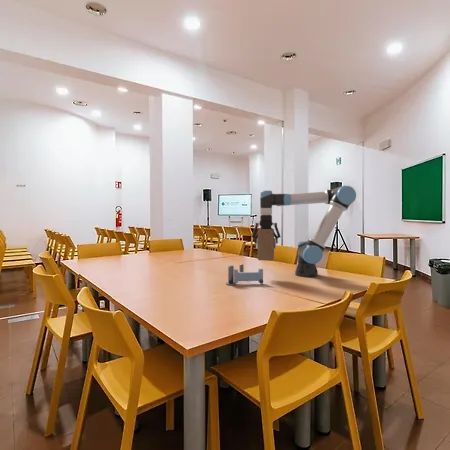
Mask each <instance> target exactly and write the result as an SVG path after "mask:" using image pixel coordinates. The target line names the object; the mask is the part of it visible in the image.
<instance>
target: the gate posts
mask: <svg viewBox="0 0 450 450" xmlns="http://www.w3.org/2000/svg"><path fill="white" fill-rule="evenodd" d="M234 267H235V266H234V265H228V267H227V268H228V271H227V272H228V273H227V274H228V278H227V279H228V282H226V283H225V285H226V286H237V283H234V269H235V268H234ZM244 268H245V267H244V264H243V263H242V264H241V263H240V264H239V272H245V271H244Z"/></svg>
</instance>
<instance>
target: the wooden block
mask: <svg viewBox="0 0 450 450" xmlns="http://www.w3.org/2000/svg"><path fill="white" fill-rule="evenodd" d="M274 232H275V228H273V227H272V229H260V228H257V233H258V237H257V239H258V249H257V260H258V261H266V262H267V261H269V262H270V261H274V258H275V249H274V238H275V237H274Z"/></svg>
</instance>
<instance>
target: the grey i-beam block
mask: <svg viewBox="0 0 450 450" xmlns="http://www.w3.org/2000/svg"><path fill="white" fill-rule="evenodd" d="M239 282H258V283H259V284H263V283H264V268H258V271H244V272H240V271H239V270H238V268H234V283H236V284H238V283H239Z"/></svg>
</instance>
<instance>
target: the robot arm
mask: <svg viewBox="0 0 450 450" xmlns="http://www.w3.org/2000/svg"><path fill="white" fill-rule="evenodd" d="M259 199H260V200H259V201H260V204H259V205H260V211H259V212H260V213H259V214H260V216H259V219H260V221H259V222H255V224H254V226H255V227H254V228H253V232H252V235H251V238H252V239H254V244H255V249H257V250H258V232H257V231H258V228H259V229H272V228H273V227H274V250H275V249H276V250H277V244H278V241H279V240H278V239H279V238H281V233H280V231H279V227H278V223H277V222H273V215H272V214H273V206H277V207H282V206H285V207H286V206H295V205H296V206H298V205H310V204H311V205H313V204H326V205H329V207H328V209H327V211H326V213H325V215H324V216H323V218H322V220H321V221H320V224H319V225H318V226H317V228H316V231H315V232H314V234H313V236H312V237H311V238H308V239H307V240H305V241H298V243H297V265H296V268H295V270H294V271H295V273H294V275H295V276H298V277H303V278H304V277H306V278H311V277H312V278H313V277H314V276H315V277H318V276H317V275H319V271H318V268H317V265H316V264H318V263H319V262H320V261H322V259H323V256H324V254H323V253H324V252H325V249H326V245H325V244H326V242H327V241H328V239H329V237H330V236H331V234H332V232H333V231H334V228H335V227H336V225H337V223H338V221H339V219H340V218H341V216H342V215H343V213H344V212H346V211H347V210H348V209H349V207H350V205H351V204H353V203H354V202H355V201H356V199H357V192H356V190H355V188H353V187H352V186H350V185H342V186H338V187H335V188H331V189H324V191H316V192H302V193H301V192H300V193H299V192H298V193H273V191H272V190H261V191H260V197H259ZM259 226H260V227H259ZM272 226H273V227H272ZM256 232H257V233H256Z"/></svg>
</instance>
